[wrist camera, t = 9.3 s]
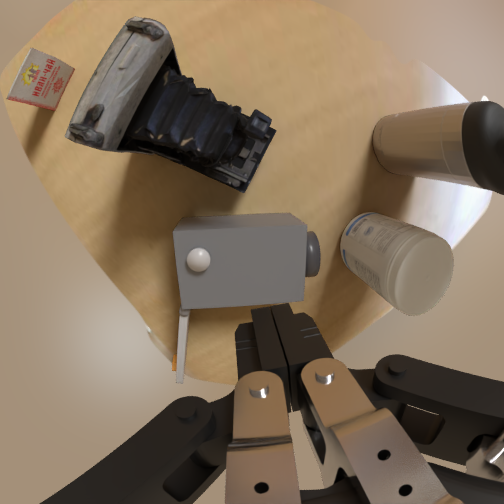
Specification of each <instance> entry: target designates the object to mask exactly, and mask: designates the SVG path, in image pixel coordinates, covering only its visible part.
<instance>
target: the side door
mask: <svg viewBox="0 0 504 504" xmlns="http://www.w3.org/2000/svg"><path fill="white" fill-rule="evenodd" d="M179 314H180V318H179V332H178V349H177V355H175V354H174V357H173V362H172V371H176V383H181V384H183V379H184V371H185V362H186V352H187V339H188V328H189V317H190V309H182V304H181V305H180V310H179Z"/></svg>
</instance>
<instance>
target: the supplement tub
mask: <svg viewBox="0 0 504 504" xmlns="http://www.w3.org/2000/svg"><path fill="white" fill-rule="evenodd" d="M340 250H341V256H342V259H343V261H344V263H345V265H346V266H347V268H348V269H350V270H351V271H352V272H353V273H354V274H355V275H357V276H358V277H359V278H360V279H362V280H363V281H364V282H365V283H366V284H367V285H369V286H370V287H371V288H372V289H373V290H375V291H376V292H377V293H378V294H379V295H381V296H382V297H383V298H384V299H385V300H386V301H387V302H389V303H390V304H391V305H392V306H394V307H395V308H396V309H398V310H400V311H401V312H403V313H404V314H406V315H409V316H417V315H421V314H423V313H425V312H427V311H429V310H430V309H432V308H433V307H434V306H435V305H436V304H437V303H438V302H439V301H440V300H441V298H442V297H443V295H444V294H445V292H446V290H447V288H448V286H449V284H450V281H451V278H452V274H453V267H454V259H453V253H452V250H451V247H450V245H449V244H448V243H447V241H446V240H444V239H443V238H441V237H439V236H438V235H436V234H434V233H432V232H430V231H427V230H425V229H422V228H419V227H417V226H414V225H411V224H408V223H405V222H403V221H400V220H397V219H394V218H391V217H388V216H385V215H382V214H379V213H375V212H367V213H363V214H360V215H358V216H357V217H355V218H354V219H352V220H351V221H350V223H349V224H348V225H347V227H346V228H345V230H344V232H343V234H342V238H341V243H340Z"/></svg>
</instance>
